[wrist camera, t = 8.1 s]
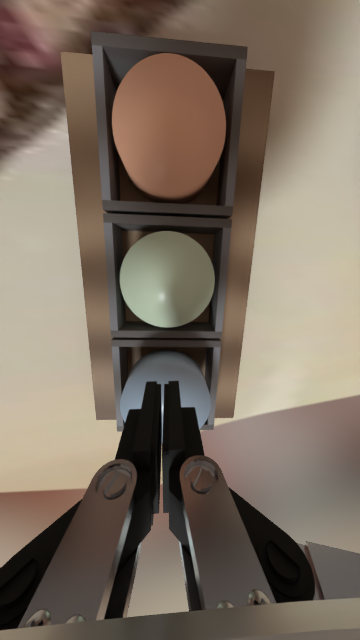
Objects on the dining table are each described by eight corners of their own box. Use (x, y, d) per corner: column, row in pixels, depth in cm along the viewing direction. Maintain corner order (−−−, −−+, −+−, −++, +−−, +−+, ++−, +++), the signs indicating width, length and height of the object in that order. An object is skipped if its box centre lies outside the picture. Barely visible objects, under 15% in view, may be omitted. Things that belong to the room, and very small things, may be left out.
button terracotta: (211, 208, 14) (221, 195, 11) (125, 204, 13) (115, 190, 11) (218, 100, 12) (231, 58, 10) (120, 92, 12) (108, 47, 9)
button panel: (224, 397, 22) (242, 439, 16) (106, 398, 21) (85, 443, 16) (254, 109, 15) (300, 23, 10) (82, 95, 14) (31, -7, 9)
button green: (204, 318, 16) (211, 328, 13) (129, 317, 15) (122, 327, 13) (209, 239, 14) (218, 232, 12) (126, 235, 14) (117, 228, 11)
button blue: (202, 416, 16) (207, 442, 14) (129, 417, 16) (122, 443, 13) (206, 349, 15) (214, 365, 12) (126, 349, 14) (117, 365, 12)
